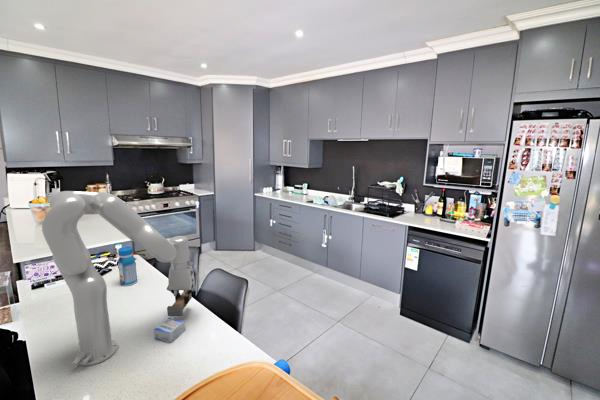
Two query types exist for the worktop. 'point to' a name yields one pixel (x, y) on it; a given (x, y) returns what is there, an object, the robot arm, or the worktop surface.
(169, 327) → the medicine box
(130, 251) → the beverage bottle
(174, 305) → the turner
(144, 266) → the worktop surface
